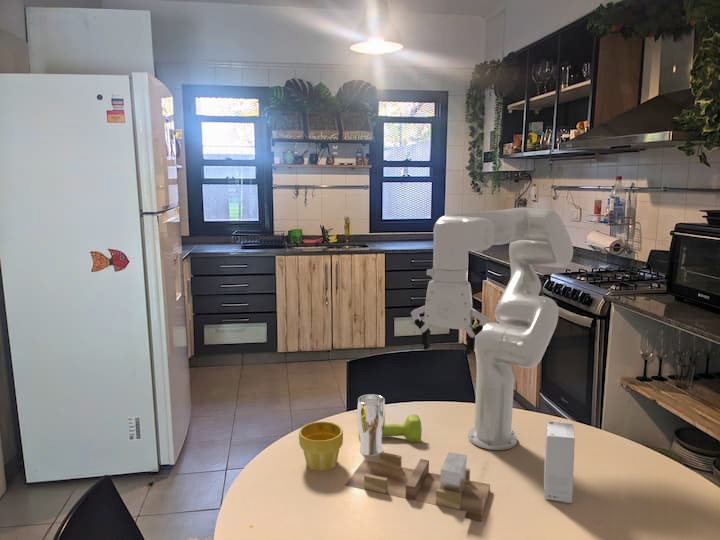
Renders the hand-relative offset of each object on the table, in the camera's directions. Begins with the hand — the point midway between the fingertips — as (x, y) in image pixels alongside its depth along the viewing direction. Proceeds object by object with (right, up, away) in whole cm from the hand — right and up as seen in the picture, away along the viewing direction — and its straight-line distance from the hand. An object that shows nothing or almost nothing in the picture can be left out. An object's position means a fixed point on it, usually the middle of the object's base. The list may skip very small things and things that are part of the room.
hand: (447, 350), depth 127 cm
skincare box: (+24, -31, -2) cm, 39 cm away
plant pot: (-29, -30, +8) cm, 42 cm away
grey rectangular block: (0, -30, -5) cm, 30 cm away
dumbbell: (-12, -27, +21) cm, 37 cm away
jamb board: (-7, -31, -2) cm, 32 cm away
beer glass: (-17, -29, +14) cm, 36 cm away
